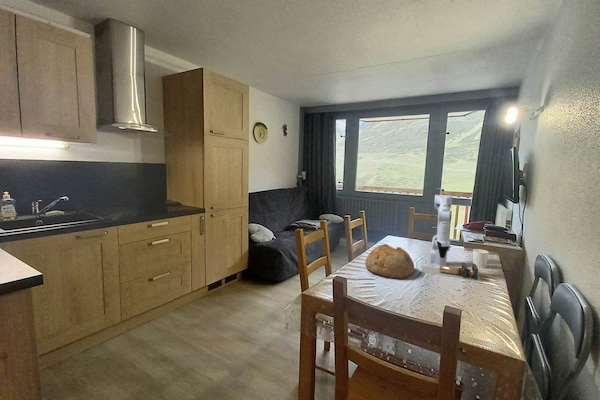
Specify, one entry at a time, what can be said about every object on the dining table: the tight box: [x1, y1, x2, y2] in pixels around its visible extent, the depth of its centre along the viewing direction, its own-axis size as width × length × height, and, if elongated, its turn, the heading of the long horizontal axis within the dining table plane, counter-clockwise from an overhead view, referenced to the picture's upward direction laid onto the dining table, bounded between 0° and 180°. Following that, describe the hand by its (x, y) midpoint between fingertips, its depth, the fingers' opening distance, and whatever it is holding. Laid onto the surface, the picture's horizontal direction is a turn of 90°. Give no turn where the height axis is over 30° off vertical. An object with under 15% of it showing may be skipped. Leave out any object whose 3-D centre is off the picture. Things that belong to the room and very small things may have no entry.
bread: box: [364, 243, 415, 279], centre depth 160 cm, size 26×23×15 cm
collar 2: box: [471, 262, 479, 281], centre depth 151 cm, size 2×9×6 cm, turn 156°
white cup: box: [472, 248, 490, 269], centre depth 168 cm, size 8×8×10 cm
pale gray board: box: [421, 265, 482, 282], centre depth 157 cm, size 29×11×1 cm, turn 66°
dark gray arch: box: [461, 261, 468, 278], centre depth 153 cm, size 2×9×6 cm, turn 155°
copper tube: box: [439, 265, 474, 277], centre depth 154 cm, size 18×4×4 cm, turn 66°
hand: (441, 255), depth 157 cm, fingers open, 7 cm apart
